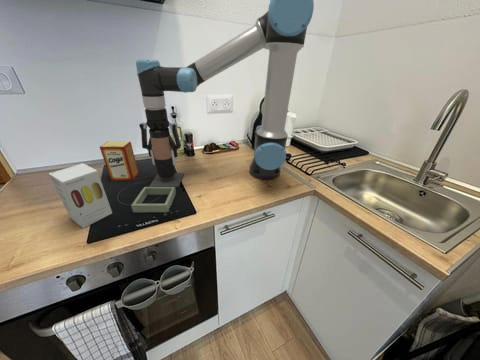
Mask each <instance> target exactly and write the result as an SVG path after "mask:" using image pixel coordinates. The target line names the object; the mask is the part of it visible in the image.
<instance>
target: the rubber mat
mask: <svg viewBox="0 0 480 360" xmlns="http://www.w3.org/2000/svg"><path fill="white" fill-rule="evenodd" d="M184 175H185V172H175V175H174V176H172V177H169V178H161V177H159V176H158V173H157V174H156V175H155V177H154V179H153V180H152V182H151V183H150V185H149V187H175V188H179V187H180V184H181V183H182V180H183V178H184Z"/></svg>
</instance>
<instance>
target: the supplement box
mask: <svg viewBox="0 0 480 360" xmlns="http://www.w3.org/2000/svg"><path fill="white" fill-rule="evenodd" d="M48 176H49V178H50V181H52V183H53V186H54V188H55V190H56V192H57V194H58V196H59V198H60V200H61V201H62V204H63V205H64V208H65V210H66V212H67V214H68V216H69V219H71V220H72V221H73V222H75V223H76V224H77V225H78V226H80V228H82V229H85V228H86V227H88V226H91V225H93V224H94V223H96V222H98V221H100V220H102V219H104V218H107V217H108V216H110V215H112V214H113V210H112V208H111V206H110V202H109V200H108V197H107V194H106V190H105V189H104V186H103V183H102V180H101V177H100V174H99V172H98V169H95V168H93V167H92V166H89V165H87V164H85V163H80V164H76V165H73V166H70V167H66V168H62V169H59V170H56V171H53V172H52V171H51V172H49V173H48Z"/></svg>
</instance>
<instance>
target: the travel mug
mask: <svg viewBox="0 0 480 360" xmlns="http://www.w3.org/2000/svg"><path fill="white" fill-rule="evenodd" d="M148 133H149V138H150V139H151V144H152V149H153V155H154V159H155V166H156V167H155V168H156V171H157V174H158V176H159V177H161V178H169V177H172V176H174V175H175V173H176V168H175V166H176V165H173V160H172V153H171V150H172V147H171V145H170V143H169V137H170V135H171V131H170V128H169V127H168V130H167V131H163V132H162V131H155V132H152V131H151V129H150V128H149V129H148ZM168 136H169V137H168Z"/></svg>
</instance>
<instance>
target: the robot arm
mask: <svg viewBox="0 0 480 360" xmlns="http://www.w3.org/2000/svg"><path fill="white" fill-rule="evenodd" d="M314 7H315V6H314V0H270V1H269V4H268V10H267V11H266V12H265V13H264V14H262V16H260V17H258V18H257V19H256V20H255V24H254V25H252V26H251V27H249V28H248V29H246V30H243V32H241V33H239V34H238V35H236V36H234V37H233V38H231V39H229V40H227V41H226V42H225V43H223V44H221V45H220V46H218V47H217V48H214V50H212V51H210V52H209V53H206V55H203V56H202V57H200V58H199V59H197V60H195V61H193V62H192V63H190V64H188V65H187V66H183V67H182V66H181V67H180V66H179V67H176V66H161V63H160V60H158V59H144V58H143V59H142V58H141V59H140V58H139V59H136V62H135V66H136V73H137V74H136V75H137V79H138V81H139V86H140V92H141V98H142V105H143V107H144V108H145V109H144V113H145V118H146V121H145V122H141V123H139V128H140V134H141V147H142V148H141V149H146V150H147V152H148V156H149V158H151V161H152V165H153V166H156V164H155V159H154V155H153V149H152V144H151V139H150V137H149V140H148V128H149V129H151V131H152V132H155V131H162V132H163V131H167V130H168V128H169V127H170V128H169V129H171V133H172V135H173V137H172V135H171V134H170V137H169V136H168V137H169V143H170V145H171V147H172V150H171V153H172V160H173V165H174V166H176V165H177V158H178V155H179V154H178V150H179V149H181V148H182V144H181V140H180V137H179V133H178V129H177V128H178V124H177V123H176V122H174V123H172V122H170V121H169V118H168V111H167V108H166V107H167V105H166V98H165V92H174V93H175V92H177V93H194V92H196V91H197V87H199V86H200V85H202V84H203V83H205V82H206V81H208V80H210V79H212V78H213V77H215V76H217V75H219V74H221V73H222V72H224V71H226V70H228V69H229V68H230V67H233V66H234V65H236V64H238V63H240V62H242V61H243V60H245V59H247V58H248V57H250V56H252V55H254V54H255V53H257V52H259V51H261V50H262V49H264V50H268V52H269V54H268V64H267V72H266V73H267V74H266V82H265V91H264V97H263V98H264V100H263V109H262V117H261V125H257V126H256V129H255V131H254V133H255V135H254V136H255V137H254V138H255V140H254V148H253V149H254V150H253V151H254V152H253V153H254V154H253V159H252V161H251V163H250V165H249V171H248V173H249V174H250V176H252V177H254V178H256V179H260V180H263V181H264V180H267V181H269V180H275V179H277V178H279V177H280V175H281V167H282V166H283V165H284V163H285V162H286V159H287V151H286V146H287V141H288V133H287V131H286V123H287V116H288V110H289V105H290V98H291V93H292V88H293V86H292V85H293V81H294V75H295V68H296V63H297V56H298V54H299V52H300V51H301V50H302V49H303V48H304V45H305V41H306V35H307V30H308V29H307V28H308V26H309V25H310V23H311V20H312V18H313V14H314Z"/></svg>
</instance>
